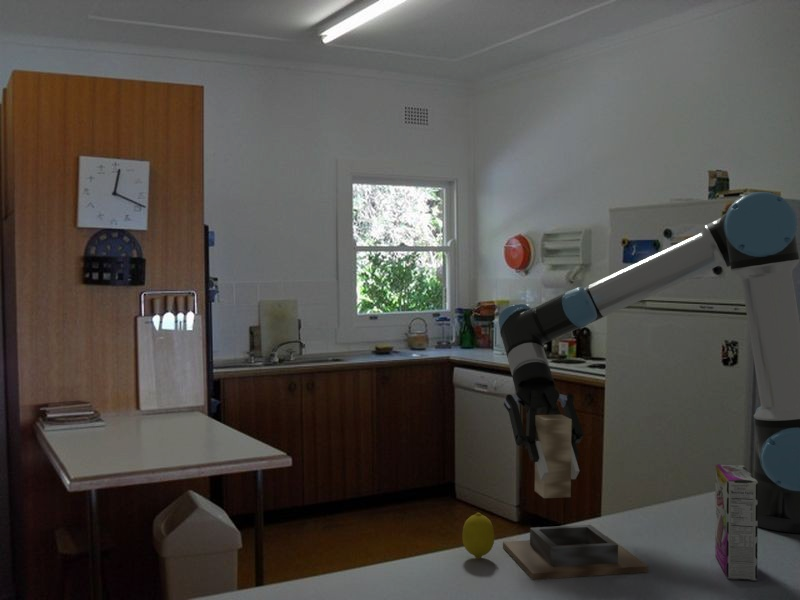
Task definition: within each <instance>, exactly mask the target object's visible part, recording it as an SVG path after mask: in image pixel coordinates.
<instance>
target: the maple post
mask: <svg viewBox="0 0 800 600" xmlns="http://www.w3.org/2000/svg"><path fill="white" fill-rule="evenodd" d="M535 425H536V439H535V443H536V441H540V442H541V446H542V450H543V453H544V457H545V460H546V464H547V468H548V471H549V473H548V475H547V477H546V479H545V480H543V481H541V479H540V476H539V472H538V468H537V464H536V462H534V492H535V493H536V494H537V495H539V496H540V497H541V498H543V499H555V498H556V499H557V498H559V499H560V498H571V497H572V496H571V495H572V490H571V489H572V488H571V487H572V479H571V427H572V419H570V418H568V417H566V416H565V415H564V414H561V415H546V414H536V415H535Z"/></svg>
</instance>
